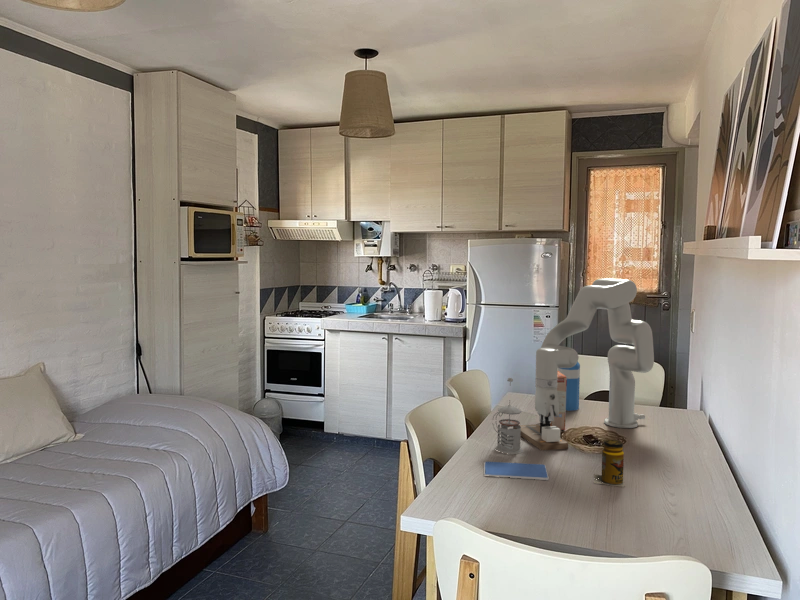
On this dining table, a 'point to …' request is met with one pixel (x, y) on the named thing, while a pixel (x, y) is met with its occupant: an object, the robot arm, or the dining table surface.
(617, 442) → the condiment
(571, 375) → the water bottle
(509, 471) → the tablet computer
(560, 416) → the cracker box
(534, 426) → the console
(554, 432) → the fader knob
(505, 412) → the french press
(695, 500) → the dining table surface
